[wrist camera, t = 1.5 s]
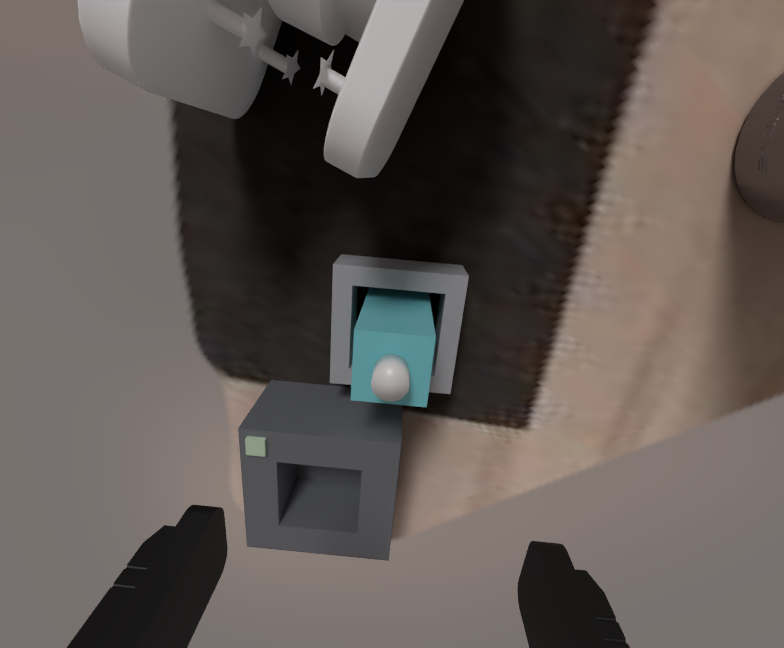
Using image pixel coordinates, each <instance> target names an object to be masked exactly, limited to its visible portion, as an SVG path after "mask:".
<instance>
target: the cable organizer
mask: <svg viewBox="0 0 784 648" xmlns="http://www.w3.org/2000/svg"><path fill="white" fill-rule="evenodd" d="M463 2H464V0H78V11H79V23H80V25H81V29H82V33H83V36H84V39H85V42H86V45H87V47H88V49H89V51H90V53H91V55H92V56H93V57H94V59H95V60H96V61H97V62H98V63H99V64H100V65H101V66H102V67H103V68H105V69H107V70H109V71H111V72H112V73H114V74H116V75H118V76H120V77H122V78H124V79H125V80H127V81H129V82H131V83H133V84H135V85H137V86H139V87H140V88H142V89H144V90H146V91H148V92H151V93H154V94H158V95H160V96H164V97H167V98H170V99H173V100H176V101H179V102H182V103H185V104H189V105H192V106H195V107H198V108H201V109H204V110H207V111H210V112H214V113H217V114H220V115H223V116H226V117H229V118H232V119H238V118H240V117H241V116H243V115H244V114H245V113H246V112H247V111H248V109H249V108H250V106H251V105H252V103H253V101H254V99H255V98H256V95H257V93H258V91H259V89H260V86H261V83H262V81H263V78H264V75H265V72H266V69H267V66H268V64H269V65H271V66H273V67H275V68H276V69H278V70H280V71H282V72H283V73H285V74H284V76H283V78H282V79H285V78H287V77H289V81H290V85H291V84H292V80H293V77H294V74H295V73H296V72H297V71H298V70H299V69H300V66H299V65H298V63H297V57H298V50H299V49H298V50H297V52H296V53H295V55H294V56H293V58H292V57H290V56H288V55H287V58H286V57H285V56H283V55H281V54H279V53H278V52H276V51H274V50H273V48H274V45H275V42H276V39H277V36H278V33H279V30H280V27H281V24H282V21H284V22H286V23H288V24H290V25H292V26H294V27H296V28H298V29H300V30H302V31H304V32H306V33H308V34H310V35H312V36H314V37H315V38H317V39H319V40H321V41H323V42H325V43H327V44H329V45H331V46H335V45H337V44H338V43H339V42H340V41H341V40H342V39H343V37H344V35H345V34H346V35H347V36H349V37H351V38H352V39H354V40H356V41H357V42H359V45H358V48H357V50H356V53H355V55H354V57H353V60H352V62H351V65H350V67H349V70H348V72H347V75H346V77H344V76H342V75H341V74H339V73H337V72H335V71H334V70H332V69H331V62H332V57H333V53H334V50H333V52H332V53H331V55H330V56H329V58H328V60H327V61H326V60H325V59H323V58H322V57H321V63H320V74H319V77H318V79H317V81H316V83H315V85H314V87H313V89H314V88H316V87H318V86H320V89H321V97H322V94H323V90H324V87H326V88H328V89H329V90H331V91H333V92H335V93H336V94H338V98H337V100H336V103H335V106H334V109H333V112H332V115H331V119H330V122H329V126H328V130H327V134H326V139H325V145H324V159H325V161H326V162H328V163H330V164H332V165H333V166H335V167H337V168H339V169H341V170H343V171H344V172H346V173H348V174H350V175H352V176H354V177H355V178H369V177H376V176H377V175H378V174H379V173H380V171H381V170H382V168H383V167H384V165H385V164H386V162H387V160H388V158H389V157H390V155H391V153H392V151H393V149H394V147H395V145H396V143H397V141H398V139H399V137H400V135H401V133H402V131H403V128H404V126H405V124H406V122H407V120H408V118H409V116H410V114H411V112H412V109H413V107H414V105H415V103H416V101H417V99H418V97H419V95H420V92H421V90H422V88H423V86H424V84H425V82H426V80H427V78H428V76H429V73H430V71H431V69H432V67H433V65H434V63H435V61H436V59H437V57H438V54H439V52H440V50H441V48H442V46H443V44H444V42H445V40H446V37H447V35H448V33H449V31H450V29H451V27H452V25H453V23H454V21H455V18H456V16H457V14H458V12H459V10H460V8H461V6H462V4H463Z"/></svg>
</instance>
